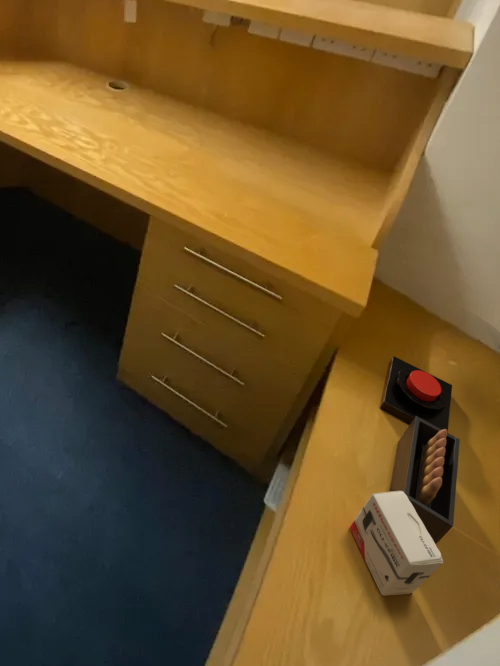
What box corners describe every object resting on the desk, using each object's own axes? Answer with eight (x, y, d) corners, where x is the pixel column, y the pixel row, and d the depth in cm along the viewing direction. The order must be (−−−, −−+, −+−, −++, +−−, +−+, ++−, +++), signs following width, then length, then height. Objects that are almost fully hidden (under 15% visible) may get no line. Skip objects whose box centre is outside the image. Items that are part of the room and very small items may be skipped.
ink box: (347, 526, 80) (372, 491, 74) (376, 523, 81) (404, 488, 74) (381, 597, 73) (411, 565, 67) (413, 594, 73) (447, 561, 67)
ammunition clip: (412, 458, 88) (440, 421, 82) (424, 465, 87) (453, 428, 81) (403, 515, 81) (433, 479, 75) (416, 524, 80) (448, 488, 74)
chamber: (439, 464, 88) (459, 439, 84) (429, 550, 78) (453, 526, 73) (398, 441, 91) (416, 415, 87) (384, 520, 81) (403, 496, 76)
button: (407, 371, 99) (411, 365, 98) (438, 386, 96) (442, 380, 95) (404, 391, 95) (408, 384, 94) (435, 407, 93) (440, 401, 92)
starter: (389, 362, 104) (396, 350, 102) (447, 391, 99) (456, 379, 97) (379, 408, 96) (387, 396, 94) (442, 442, 91) (451, 430, 89)
